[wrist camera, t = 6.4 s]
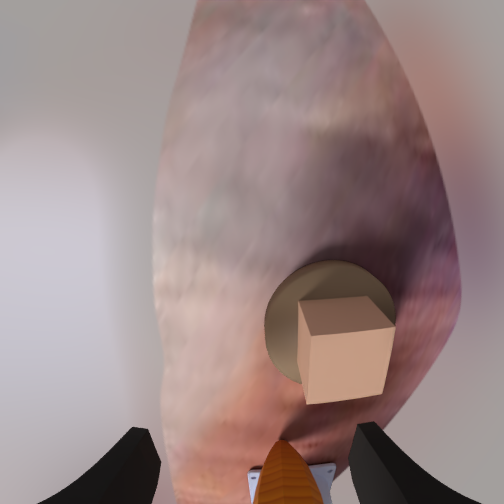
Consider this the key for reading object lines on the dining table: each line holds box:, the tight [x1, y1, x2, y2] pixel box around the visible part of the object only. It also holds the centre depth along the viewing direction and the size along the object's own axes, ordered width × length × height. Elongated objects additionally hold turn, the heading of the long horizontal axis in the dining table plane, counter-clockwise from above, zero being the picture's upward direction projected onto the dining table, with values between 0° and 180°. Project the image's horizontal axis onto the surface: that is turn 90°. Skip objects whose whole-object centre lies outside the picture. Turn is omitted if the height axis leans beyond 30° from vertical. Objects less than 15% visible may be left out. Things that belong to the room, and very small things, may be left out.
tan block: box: [297, 296, 396, 405], centre depth 15 cm, size 4×4×4 cm
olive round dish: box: [264, 260, 396, 384], centre depth 18 cm, size 8×8×2 cm
